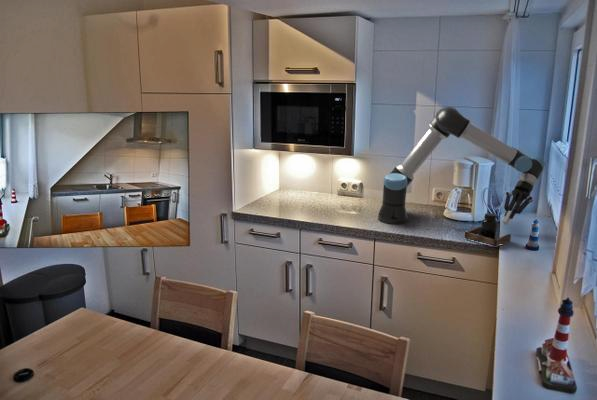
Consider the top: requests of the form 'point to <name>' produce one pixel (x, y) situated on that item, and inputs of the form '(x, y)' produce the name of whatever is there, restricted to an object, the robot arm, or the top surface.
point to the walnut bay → (473, 236)
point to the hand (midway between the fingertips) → (505, 223)
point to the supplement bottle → (489, 226)
